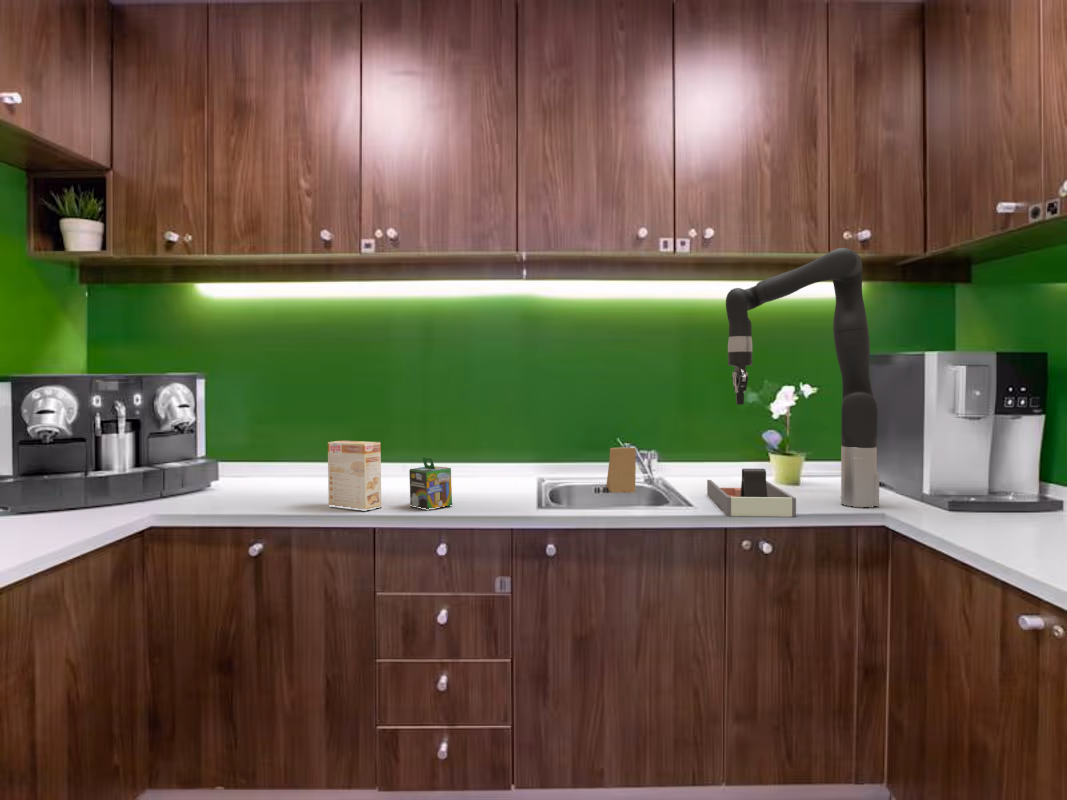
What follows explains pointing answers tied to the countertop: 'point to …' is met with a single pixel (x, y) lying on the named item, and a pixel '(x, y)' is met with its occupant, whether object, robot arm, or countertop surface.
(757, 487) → the door stopper
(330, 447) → the coffeecake box
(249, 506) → the countertop surface
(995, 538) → the countertop surface
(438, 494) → the chalk box
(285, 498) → the countertop surface
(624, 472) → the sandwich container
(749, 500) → the open storage tray
